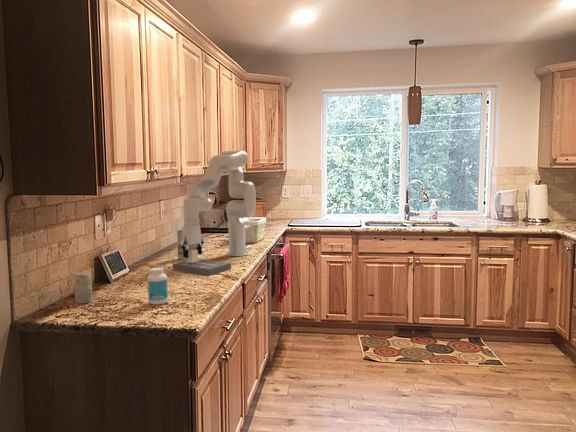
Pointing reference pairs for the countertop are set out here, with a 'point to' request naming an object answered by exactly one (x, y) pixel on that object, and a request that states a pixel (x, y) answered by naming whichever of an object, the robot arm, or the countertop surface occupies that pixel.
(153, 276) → the pill bottle
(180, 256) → the coffee box
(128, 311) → the countertop surface
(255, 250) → the countertop surface
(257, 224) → the storage basket
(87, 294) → the grey cylinder
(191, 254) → the fader
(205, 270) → the console
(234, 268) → the countertop surface
